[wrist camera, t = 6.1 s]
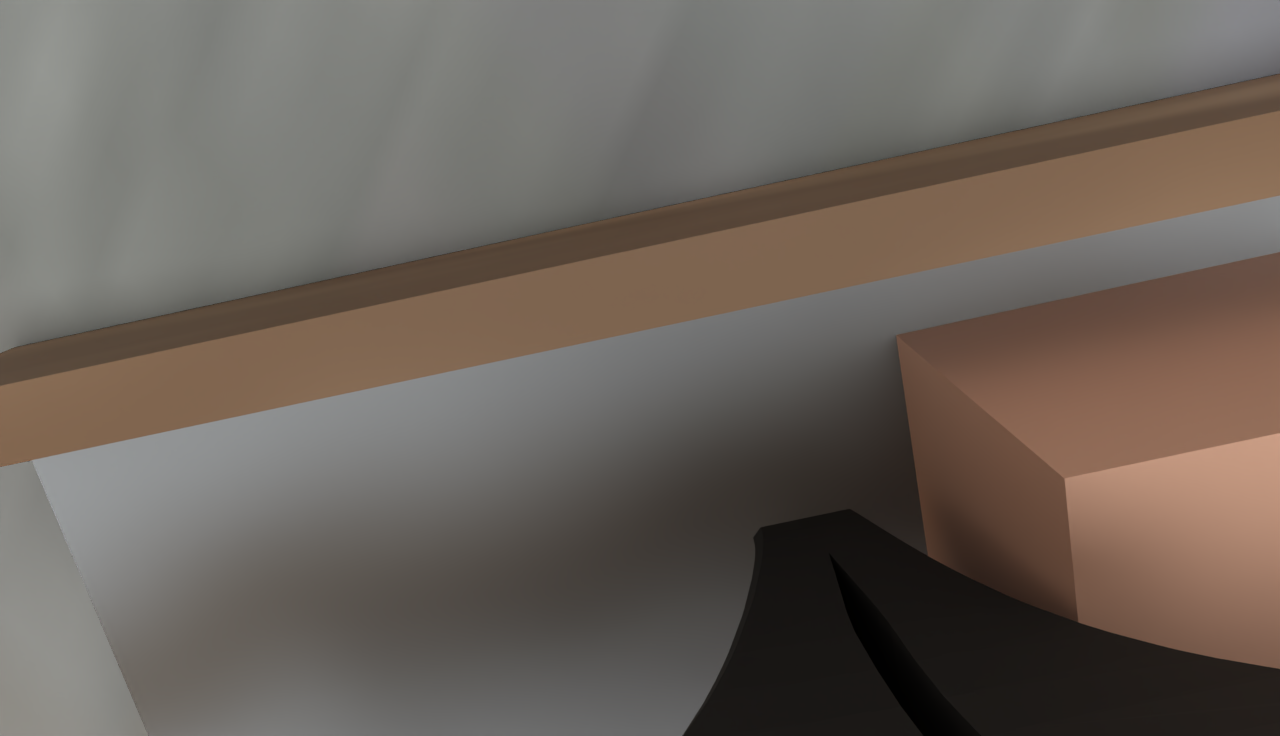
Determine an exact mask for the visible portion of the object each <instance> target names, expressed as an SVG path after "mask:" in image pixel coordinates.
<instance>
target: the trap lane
mask: <svg viewBox="0 0 1280 736" xmlns="http://www.w3.org/2000/svg"><path fill="white" fill-rule="evenodd" d="M1278 252H1280V74H1276V75H1272V76H1267V77H1263V78H1258V79H1253V80H1249V81H1244V82H1240V83H1235V84H1230V85H1226V86H1221V87H1216V88H1212V89H1207V90H1203V91H1198V92H1193V93H1189V94H1184V95H1179V96H1175V97H1170V98H1166V99H1161V100H1156V101H1152V102H1147V103H1142V104H1138V105H1133V106H1129V107H1124V108H1119V109H1115V110H1110V111H1105V112H1101V113H1096V114H1092V115H1087V116H1082V117H1078V118H1073V119H1068V120H1064V121H1059V122H1055V123H1050V124H1045V125H1041V126H1036V127H1032V128H1027V129H1022V130H1018V131H1013V132H1008V133H1004V134H999V135H995V136H990V137H985V138H981V139H976V140H971V141H967V142H962V143H958V144H953V145H948V146H944V147H939V148H934V149H930V150H925V151H921V152H916V153H911V154H907V155H902V156H897V157H893V158H888V159H884V160H879V161H874V162H870V163H865V164H861V165H856V166H851V167H847V168H842V169H837V170H833V171H828V172H824V173H819V174H814V175H810V176H805V177H800V178H796V179H791V180H787V181H782V182H777V183H773V184H768V185H763V186H759V187H754V188H750V189H745V190H740V191H736V192H731V193H726V194H722V195H717V196H713V197H708V198H703V199H699V200H694V201H689V202H685V203H680V204H676V205H671V206H666V207H662V208H657V209H653V210H648V211H643V212H639V213H634V214H629V215H625V216H620V217H616V218H611V219H606V220H602V221H597V222H592V223H588V224H583V225H579V226H574V227H569V228H565V229H560V230H555V231H551V232H546V233H542V234H537V235H532V236H528V237H523V238H518V239H514V240H509V241H505V242H500V243H495V244H491V245H486V246H481V247H477V248H472V249H468V250H463V251H458V252H454V253H449V254H445V255H440V256H435V257H431V258H426V259H421V260H417V261H412V262H408V263H403V264H398V265H394V266H389V267H384V268H380V269H375V270H371V271H366V272H361V273H357V274H352V275H347V276H343V277H338V278H334V279H329V280H324V281H320V282H315V283H310V284H306V285H301V286H297V287H292V288H287V289H283V290H278V291H274V292H269V293H264V294H260V295H255V296H250V297H246V298H241V299H237V300H232V301H227V302H223V303H218V304H213V305H209V306H204V307H200V308H195V309H190V310H186V311H181V312H176V313H172V314H167V315H163V316H158V317H153V318H149V319H144V320H139V321H135V322H130V323H126V324H121V325H116V326H112V327H107V328H102V329H98V330H93V331H89V332H84V333H79V334H75V335H70V336H66V337H61V338H56V339H52V340H47V341H42V342H38V343H33V344H29V345H24V346H19V347H15V348H12V349H9V350H7V351H5V352H2V353H0V467H2V466H7V465H11V464H16V463H21V462H26V461H30V460H32V462H33V465H34V467H35V469H36V472H37V474H38V477H39V479H40V481H41V484H42V486H43V488H44V491H45V493H46V495H47V498H48V500H49V502H50V505H51V507H52V510H53V512H54V514H55V517H56V519H57V521H58V524H59V526H60V528H61V531H62V533H63V535H64V538H65V540H66V542H67V545H68V547H69V550H70V552H71V554H72V557H73V559H74V561H75V564H76V566H77V568H78V571H79V573H80V575H81V578H82V580H83V582H84V585H85V587H86V590H87V592H88V594H89V597H90V599H91V601H92V604H93V606H94V608H95V611H96V613H97V615H98V618H99V620H100V623H101V625H102V627H103V630H104V632H105V634H106V637H107V639H108V641H109V644H110V646H111V648H112V651H113V653H114V655H115V658H116V660H117V663H118V665H119V667H120V670H121V672H122V674H123V677H124V679H125V681H126V684H127V686H128V688H129V691H130V693H131V696H132V698H133V700H134V703H135V705H136V707H137V710H138V712H139V714H140V717H141V719H142V721H143V724H144V726H145V728H146V731H147V733H148V736H682V735H683V734H684V732H685V731H686V729H687V728H688V726H689V725H690V723H691V721H692V720H693V718H694V717H695V715H696V714H697V712H698V711H699V709H700V707H701V706H702V704H703V703H704V701H705V699H706V697H707V695H708V694H709V692H710V690H711V688H712V686H713V684H714V682H715V681H716V679H717V676H718V674H719V672H720V670H721V668H722V666H723V664H724V662H725V659H726V657H727V655H728V653H729V650H730V647H731V645H732V642H733V639H734V637H735V634H736V631H737V628H738V626H739V623H740V620H741V618H742V615H743V611H744V608H745V604H746V600H747V596H748V592H749V588H750V584H751V580H752V575H753V568H754V562H755V544H754V539H753V537H754V536H755V534H756V533H757V531H758V530H759V529H760V527H764V526H769V525H774V524H778V523H783V522H788V521H793V520H798V519H802V518H807V517H812V516H817V515H822V514H827V513H831V512H836V511H841V510H846V509H851V510H853V511H855V512H856V513H858V514H860V515H861V516H863V517H864V518H866V519H868V520H869V521H871V522H872V523H874V524H876V525H877V526H879V527H880V528H882V529H884V530H885V531H887V532H888V533H890V534H892V535H893V536H895V537H897V538H898V539H900V540H901V541H903V542H905V543H907V544H908V545H910V546H912V547H913V548H915V549H917V550H918V551H920V552H922V553H924V554H926V555H927V556H928V553H927V546H926V539H925V532H924V526H923V519H922V512H921V505H920V498H919V491H918V484H917V477H916V470H915V463H914V456H913V450H912V443H911V436H910V429H909V422H908V415H907V408H906V401H905V394H904V387H903V380H902V374H901V367H900V360H899V353H898V346H897V339H896V335H899V334H903V333H908V332H913V331H917V330H922V329H926V328H931V327H936V326H940V325H945V324H949V323H954V322H959V321H963V320H968V319H973V318H977V317H982V316H986V315H991V314H996V313H1000V312H1005V311H1009V310H1014V309H1019V308H1023V307H1028V306H1033V305H1037V304H1042V303H1046V302H1051V301H1056V300H1060V299H1065V298H1069V297H1074V296H1079V295H1083V294H1088V293H1093V292H1097V291H1102V290H1106V289H1111V288H1116V287H1120V286H1125V285H1129V284H1134V283H1139V282H1143V281H1148V280H1152V279H1157V278H1162V277H1166V276H1171V275H1176V274H1180V273H1185V272H1190V271H1194V270H1199V269H1203V268H1208V267H1213V266H1217V265H1222V264H1227V263H1231V262H1236V261H1241V260H1245V259H1250V258H1254V257H1259V256H1264V255H1268V254H1273V253H1278Z"/></svg>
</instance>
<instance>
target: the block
mask: <svg viewBox="0 0 1280 736" xmlns="http://www.w3.org/2000/svg"><path fill="white" fill-rule="evenodd" d="M896 339H897V346H898V353H899V360H900V367H901V374H902V380H903V387H904V394H905V401H906V408H907V415H908V422H909V429H910V436H911V443H912V450H913V456H914V463H915V470H916V477H917V484H918V491H919V498H920V505H921V512H922V519H923V526H924V532H925V539H926V546H927V553H928V556H929V557H931V558H933V559H934V560H936V561H938V562H940V563H942V564H944V565H945V566H947V567H949V568H951V569H953V570H955V571H957V572H959V573H961V574H963V575H965V576H967V577H969V578H971V579H973V580H975V581H977V582H979V583H982V584H984V585H986V586H988V587H990V588H992V589H994V590H997V591H999V592H1001V593H1003V594H1005V595H1007V596H1010V597H1012V598H1015V599H1017V600H1019V601H1022V602H1024V603H1027V604H1029V605H1032V606H1034V607H1037V608H1040V609H1043V610H1045V611H1048V612H1051V613H1054V614H1057V615H1059V616H1062V617H1065V618H1068V619H1070V620H1073V621H1076V622H1079V623H1082V624H1085V625H1088V626H1091V627H1094V628H1098V629H1101V630H1104V631H1108V632H1111V633H1114V634H1118V635H1122V636H1126V637H1130V638H1133V639H1137V640H1141V641H1145V642H1149V643H1153V644H1156V645H1160V646H1164V647H1168V648H1172V649H1176V650H1181V651H1186V652H1190V653H1195V654H1200V655H1205V656H1209V657H1214V658H1219V659H1225V660H1231V661H1237V662H1243V663H1248V664H1254V665H1260V666H1266V667H1272V668H1278V669H1280V252H1278V253H1273V254H1268V255H1264V256H1259V257H1254V258H1250V259H1245V260H1241V261H1236V262H1231V263H1227V264H1222V265H1217V266H1213V267H1208V268H1203V269H1199V270H1194V271H1190V272H1185V273H1180V274H1176V275H1171V276H1166V277H1162V278H1157V279H1152V280H1148V281H1143V282H1139V283H1134V284H1129V285H1125V286H1120V287H1116V288H1111V289H1106V290H1102V291H1097V292H1093V293H1088V294H1083V295H1079V296H1074V297H1069V298H1065V299H1060V300H1056V301H1051V302H1046V303H1042V304H1037V305H1033V306H1028V307H1023V308H1019V309H1014V310H1009V311H1005V312H1000V313H996V314H991V315H986V316H982V317H977V318H973V319H968V320H963V321H959V322H954V323H949V324H945V325H940V326H936V327H931V328H926V329H922V330H917V331H913V332H908V333H903V334H899V335H896Z"/></svg>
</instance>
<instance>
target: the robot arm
mask: <svg viewBox="0 0 1280 736" xmlns="http://www.w3.org/2000/svg"><path fill="white" fill-rule="evenodd" d="M753 539H754V544H755V562H754V568H753V575H752V580H751V584H750V588H749V592H748V596H747V600H746V604H745V608H744V611H743V615H742V618H741V620H740V623H739V626H738V628H737V631H736V634H735V637H734V639H733V642H732V645H731V647H730V650H729V653H728V655H727V657H726V659H725V662H724V664H723V666H722V668H721V670H720V672H719V674H718V676H717V679H716V681H715V682H714V684H713V686H712V688H711V690H710V692H709V694H708V695H707V697H706V699H705V701H704V703H703V704H702V706H701V707H700V709H699V711H698V712H697V714H696V715H695V717H694V718H693V720H692V721H691V723H690V725H689V726H688V728H687V729H686V731H685V732H684V734H683V735H682V736H1280V669H1278V668H1272V667H1266V666H1260V665H1254V664H1248V663H1243V662H1237V661H1231V660H1225V659H1219V658H1214V657H1209V656H1205V655H1200V654H1195V653H1190V652H1186V651H1181V650H1176V649H1172V648H1168V647H1164V646H1160V645H1156V644H1153V643H1149V642H1145V641H1141V640H1137V639H1133V638H1130V637H1126V636H1122V635H1118V634H1114V633H1111V632H1108V631H1104V630H1101V629H1098V628H1094V627H1091V626H1088V625H1085V624H1082V623H1079V622H1076V621H1073V620H1070V619H1068V618H1065V617H1062V616H1059V615H1057V614H1054V613H1051V612H1048V611H1045V610H1043V609H1040V608H1037V607H1034V606H1032V605H1029V604H1027V603H1024V602H1022V601H1019V600H1017V599H1015V598H1012V597H1010V596H1007V595H1005V594H1003V593H1001V592H999V591H997V590H994V589H992V588H990V587H988V586H986V585H984V584H982V583H979V582H977V581H975V580H973V579H971V578H969V577H967V576H965V575H963V574H961V573H959V572H957V571H955V570H953V569H951V568H949V567H947V566H945V565H944V564H942V563H940V562H938V561H936V560H934V559H933V558H931V557H929V556H927V555H926V554H924V553H922V552H920V551H918V550H917V549H915V548H913V547H912V546H910V545H908V544H907V543H905V542H903V541H901V540H900V539H898V538H897V537H895V536H893V535H892V534H890V533H888V532H887V531H885V530H884V529H882V528H880V527H879V526H877V525H876V524H874V523H872V522H871V521H869V520H868V519H866V518H864V517H863V516H861V515H860V514H858V513H856V512H855V511H853V510H851V509H846V510H841V511H836V512H831V513H827V514H822V515H817V516H812V517H807V518H802V519H798V520H793V521H788V522H783V523H778V524H774V525H769V526H764V527H760V529H759V530H758V531H757V533H756V534H755V536H754V537H753Z"/></svg>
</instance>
